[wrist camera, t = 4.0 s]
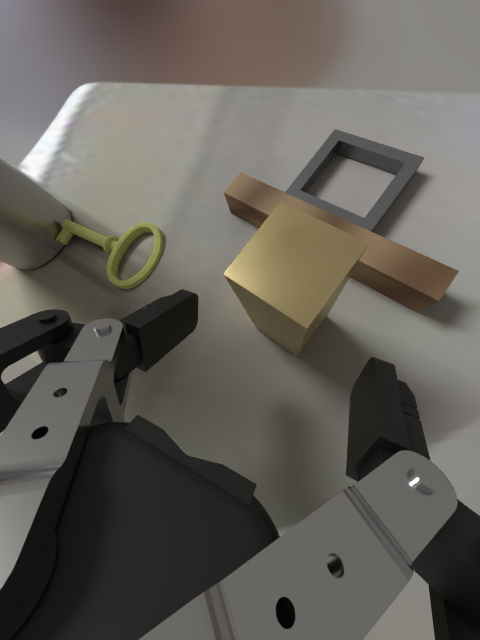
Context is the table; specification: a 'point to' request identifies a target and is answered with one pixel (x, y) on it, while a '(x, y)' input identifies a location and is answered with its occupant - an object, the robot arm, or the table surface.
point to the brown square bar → (380, 255)
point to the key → (117, 248)
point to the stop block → (293, 274)
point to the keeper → (368, 154)
